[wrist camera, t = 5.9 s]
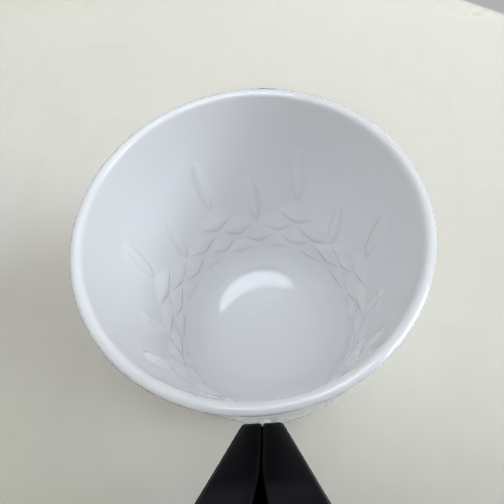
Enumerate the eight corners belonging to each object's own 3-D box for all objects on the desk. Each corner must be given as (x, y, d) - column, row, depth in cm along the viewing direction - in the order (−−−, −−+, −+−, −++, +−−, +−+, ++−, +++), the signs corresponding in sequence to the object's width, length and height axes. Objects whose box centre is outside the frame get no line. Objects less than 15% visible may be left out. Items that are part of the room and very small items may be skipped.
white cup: (199, 246, 20) (126, 80, 11) (367, 263, 19) (433, 95, 10) (159, 420, 17) (11, 381, 8) (359, 454, 16) (445, 451, 7)
